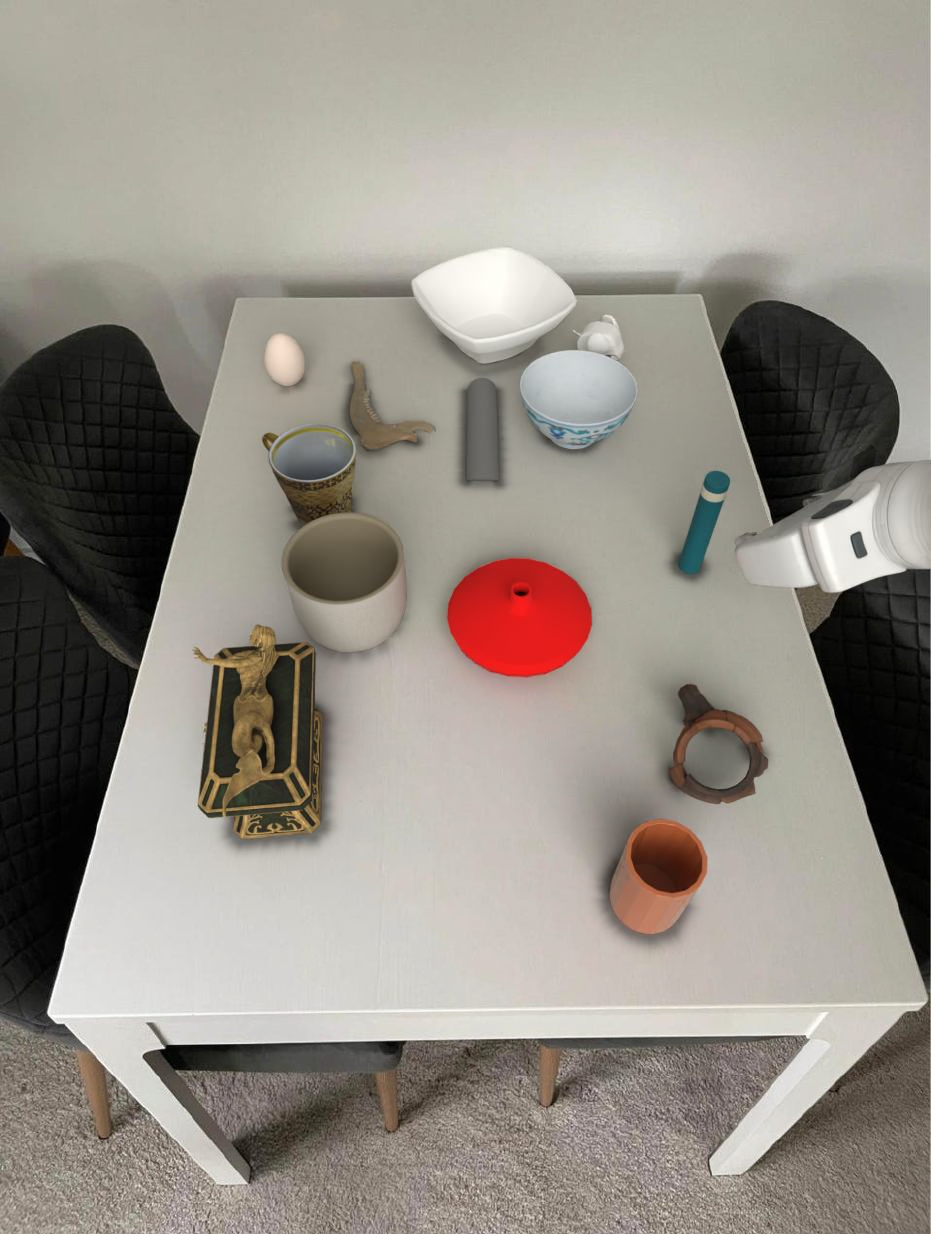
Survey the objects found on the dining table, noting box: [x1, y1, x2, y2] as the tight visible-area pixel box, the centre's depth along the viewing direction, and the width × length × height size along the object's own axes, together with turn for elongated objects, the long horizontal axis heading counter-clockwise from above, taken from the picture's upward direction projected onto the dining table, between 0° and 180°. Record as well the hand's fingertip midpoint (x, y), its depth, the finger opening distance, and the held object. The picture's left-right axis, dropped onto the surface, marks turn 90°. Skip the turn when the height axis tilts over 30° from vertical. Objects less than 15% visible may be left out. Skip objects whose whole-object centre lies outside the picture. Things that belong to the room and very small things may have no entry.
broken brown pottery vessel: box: [668, 683, 769, 805], centre depth 80 cm, size 12×10×8 cm
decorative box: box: [192, 623, 323, 840], centre depth 72 cm, size 20×10×20 cm, turn 5°
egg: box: [263, 332, 306, 387], centre depth 114 cm, size 6×6×8 cm
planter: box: [281, 511, 408, 653], centre depth 88 cm, size 12×12×11 cm
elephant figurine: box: [572, 314, 626, 361], centre depth 118 cm, size 7×8×6 cm
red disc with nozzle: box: [446, 557, 593, 678], centre depth 88 cm, size 16×16×7 cm
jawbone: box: [348, 360, 437, 451], centre depth 113 cm, size 9×20×2 cm, turn 37°
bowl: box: [410, 246, 578, 364], centre depth 119 cm, size 21×21×9 cm
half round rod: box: [465, 377, 500, 482], centre depth 110 cm, size 4×20×2 cm, turn 179°
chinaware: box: [519, 349, 639, 450], centre depth 108 cm, size 15×15×8 cm
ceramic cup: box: [261, 422, 357, 526], centre depth 99 cm, size 13×10×10 cm
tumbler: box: [609, 818, 708, 935], centre depth 70 cm, size 6×6×10 cm
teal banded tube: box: [677, 470, 731, 575], centre depth 91 cm, size 3×3×14 cm
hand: (775, 524), depth 82 cm, fingers open, 8 cm apart
